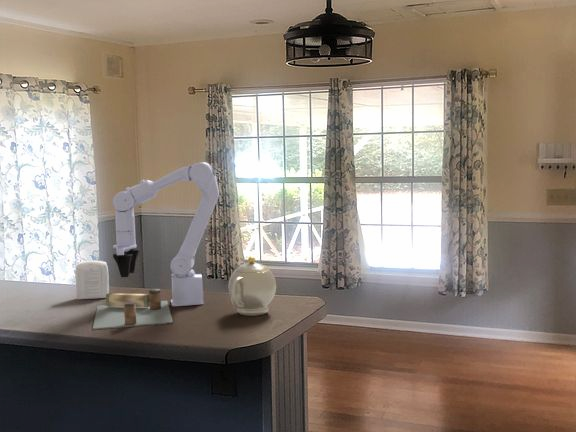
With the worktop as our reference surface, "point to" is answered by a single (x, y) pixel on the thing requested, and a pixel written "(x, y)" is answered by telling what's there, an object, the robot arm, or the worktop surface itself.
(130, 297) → the cream long bar
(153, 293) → the brown grey short cylinder
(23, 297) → the worktop surface
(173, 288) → the robot arm
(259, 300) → the teapot
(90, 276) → the white upright rounded block
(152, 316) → the mat
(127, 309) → the latch post
